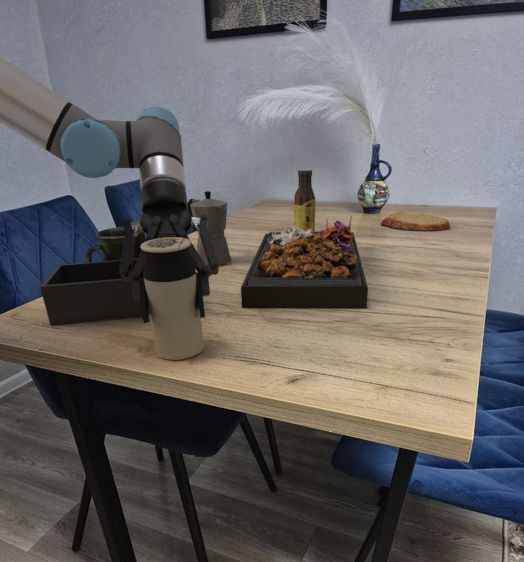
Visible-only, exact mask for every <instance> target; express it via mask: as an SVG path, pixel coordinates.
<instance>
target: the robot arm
mask: <svg viewBox="0 0 524 562" xmlns="http://www.w3.org/2000/svg"><path fill="white" fill-rule="evenodd" d="M0 124H1V125H3V126H4V127H7V128H8V129H10V130H12V131H13V132H14V133H16V134H18V135H20V136H22V137H23V138H25V139H27V140H28V141H30V142H32V143H33V144H35V145H36V146H39V147H40V148H42V149H43V150H46V151H47V152H48V153H50V154H52V155H53V156H55V157H56V158H58V159H60V160H61V161H63V162H65V164H67V166H68V167H69V168H70V169H71V170H72V171H73V172H75V173H76V174H77V175H79V176H82V177H85V178H90V179H97V178H103V177H107V176H109V174H111V173H112V172H113V171H114V170H115V169H138V170H139V171H138V172H139V173H138V174H139V187H140V200H141V202H140V203H141V204H140V205H141V216H140V218H139V220H137V221H132V222H131V221H130V220H128V219H125V220H123V221H122V227H124V231H125V237H124V243H123V250H122V257H121V264H120V270H119V273H120V275H121V277H122V280H123V281H124V282H132V286H133V297H134V299H135V301H136V302H141V317H140V318H141V319H142V321H143V324H149V323H150V316H149V312H148V302H147V296H146V289H145V283H144V277H143V271H142V265H143V262H144V260H145V255H144V252H143V250H141V253H140V255H139V257H138V260H137V262H136V264H135V267H134V269H133V271H131V269H132V262H133V255H134V248H135V237H137V235H138V232H139V230H140V229H142V230H143V231H144V232H145V239H146V241H149V240H153V239H158V238H168V237H179V238H186V239H188V240H190V241H191V239H190V238H189V236H188V231H189V230H190V229H191V227H193V226H194V227H195V230H196V231H195V230H194V231H195V232H197V233H198V232H200V237H201V241H202V244H203V247H204V251H205V254H206V257H207V260H208V263H209V265H205V263H204V262H203V260H202V258H201V257H200V255H199V254H198V252H197V248H196V247H195V245H194V244H193V242H192V241H191V245H190V247H189V254H190V255H191V257H192V259H193V260H194V262H195V269H196V282H197V292H198V301H199V311H200V318H201V319H203V318H206V314H205V313H206V311H205V303H204V297H209V296H210V294H211V289H210V279H209V278H210V277H211V276H213V275H214V276H217V275H218V274H219V272H220V271H219V269H220V268H219V266H218V261H217V258H216V255H215V252H214V248H213V245H212V242H211V239H210V236H209V233H208V218H207V216H206V215H202V216H201V217H200V218H195V217H191V215H190V214H189V212H188V205H187V203H188V195H187V188H186V187H187V186H186V178H185V176H186V175H185V168H184V167H185V166H184V155H183V145H182V135H181V132H180V126H179V121H178V119H177V117H176V116H175V114H174V113H173V112H172V111H170V110H169V109H167V108H164V107H162V106H157V105H156V106H150V107H148V108H144V109H142V110H140V111H139V113H138V115H137V116H136V120H126V121H125V120H110V119H109V120H108V119H97V118H96V117H94V116H92V115H91V114H89V113H88V112H86V111H84V110H83V109H81V108H80V107H78V106H77V105H75V104H73V103H72V102H70V101H69V100H67V99H65V98H64V97H63V96H61V95H59V94H58V93H57V92H55V91H53V90H52V89H51V88H49V87H47V85H44V84H42V83H41V82H39V81H38V80H36V79H35V78H34V77H32V76H30V75H29V74H28V73H26V72H24V71H23V70H21V69H19V68H18V67H16V66H15V65H14V64H12V63H11V62H9V61H7V60H6V59H4V58H3V57H1V56H0ZM146 241H145V242H146Z"/></svg>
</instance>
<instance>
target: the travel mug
mask: <svg viewBox="0 0 524 562" xmlns="http://www.w3.org/2000/svg"><path fill="white" fill-rule="evenodd" d="M191 242H192V241H191V239H190V240H188V239H186V238H179V237H168V238H158V239H153V240H149V241H146V242H144V243H142V244H141V246H140V248H141V249H142V250H143V252H144V255H145V260H144V262H143V265H142V271H143V277H144V283H145V289H146V296H147V302H148V308H149V314H150V316H149V322H150V328H151V333H152V338H153V339H152V340H153V345H154V346H153V347H154V351H155V352H154V353H155V354H156V355H157V356H158V357H160V358H162V359H165V360H169V361H170V360H171V361H180V360H186V359H190V358H192V357H194V356H196V355H198V354H199V353H202V351H203V350H204V345H205V344H204V336H203V326H202V318H200V311H199V301H198V292H197V282H196V273H197V270H196V269H195V262H194V260H193V259H192V257H191V255H190V254H189V247H190V245H191Z"/></svg>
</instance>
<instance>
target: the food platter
mask: <svg viewBox="0 0 524 562" xmlns="http://www.w3.org/2000/svg"><path fill="white" fill-rule="evenodd" d="M352 218H353V215H352V214H351V215H350V219H349V223H348V225H347V226H346V225H345V223H343V221H341V220H338V219H336V220H335V221H334V222H333V226H332V227H328V225H330V224H329V222H328V221H329V220H328V219H329V218H325V222H324V224H325V225H324V226H325V229H321V230H320V231H315V232H313V231H311V229H310V230H308V231H305V232H304V231H303V229H300V228H298V227H296V226H294V225H293V226H291V225H290V226H289V225H288V226H285V227H284V230H283V231H277V230H275V231H270V232H268V233H265V234H264V236H263V238H262V239H261V243H260V245H259V247H258V249H257V251H256V254H255V255H254V258H253V260H252V262H251V264H250V267H249V269H248V271H247V273H246V275H245V277H244V279H243V282H242V284H241V286H240V297H241V300H240V301H241V308H242V309H368V297H369V296H368V293H369V287H368V283H367V279H366V274H365V272H364V268H363V264H362V260H361V256H360V252H359V248H358V245H357V241H356V236H355V233H354V232H353V231H352V229H351V225H352Z"/></svg>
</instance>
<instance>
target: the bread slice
mask: <svg viewBox="0 0 524 562" xmlns="http://www.w3.org/2000/svg"><path fill="white" fill-rule="evenodd" d="M381 224H383V225H382V226H385V225H386V226H385V227H388V228H390V227H392V228H391V229H395V228H398V229H397V230H402V229H406V230H405V231H416V230H417V231H418V232H438V231H445V230H449V229H451V224H450V221H449V220H448V219H447V218H444V217H440V216H434V215H429V214H421V213H414V212H413V213H412V212H405V211H398V212H394V213H391V214H390V215H388V216H386V217H385V218H383V219H382V220H381V222H380V225H381ZM417 231H416V232H417Z"/></svg>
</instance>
